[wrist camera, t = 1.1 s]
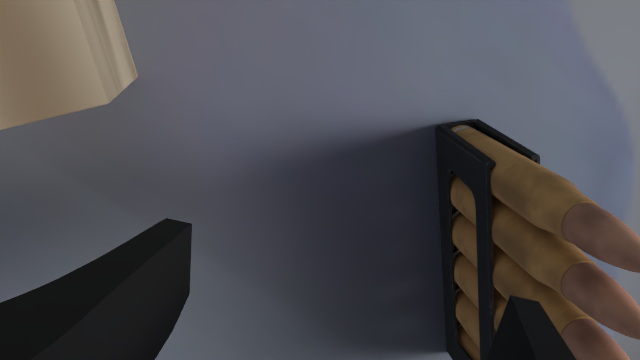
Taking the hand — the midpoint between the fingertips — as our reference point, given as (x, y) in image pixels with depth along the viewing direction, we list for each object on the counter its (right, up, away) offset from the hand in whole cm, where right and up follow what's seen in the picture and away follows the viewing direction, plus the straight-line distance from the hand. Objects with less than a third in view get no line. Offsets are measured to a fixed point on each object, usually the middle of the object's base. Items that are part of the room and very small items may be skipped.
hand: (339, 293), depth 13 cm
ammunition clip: (+6, 0, +13) cm, 14 cm away
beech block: (-9, +8, +8) cm, 15 cm away
